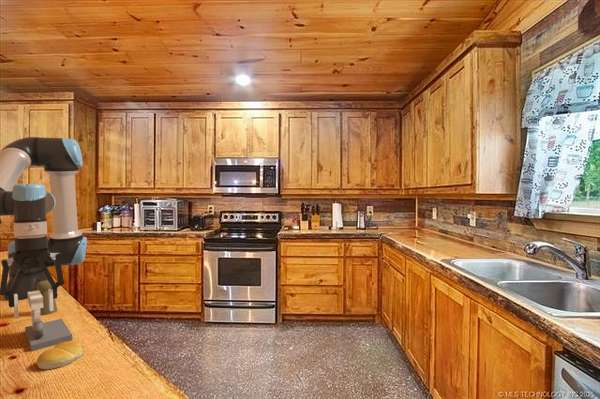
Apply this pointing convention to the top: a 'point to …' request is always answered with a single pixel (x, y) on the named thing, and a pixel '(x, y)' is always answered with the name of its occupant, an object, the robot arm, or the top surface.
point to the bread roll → (59, 355)
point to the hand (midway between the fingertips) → (34, 313)
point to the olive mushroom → (45, 297)
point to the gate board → (49, 334)
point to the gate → (36, 312)
